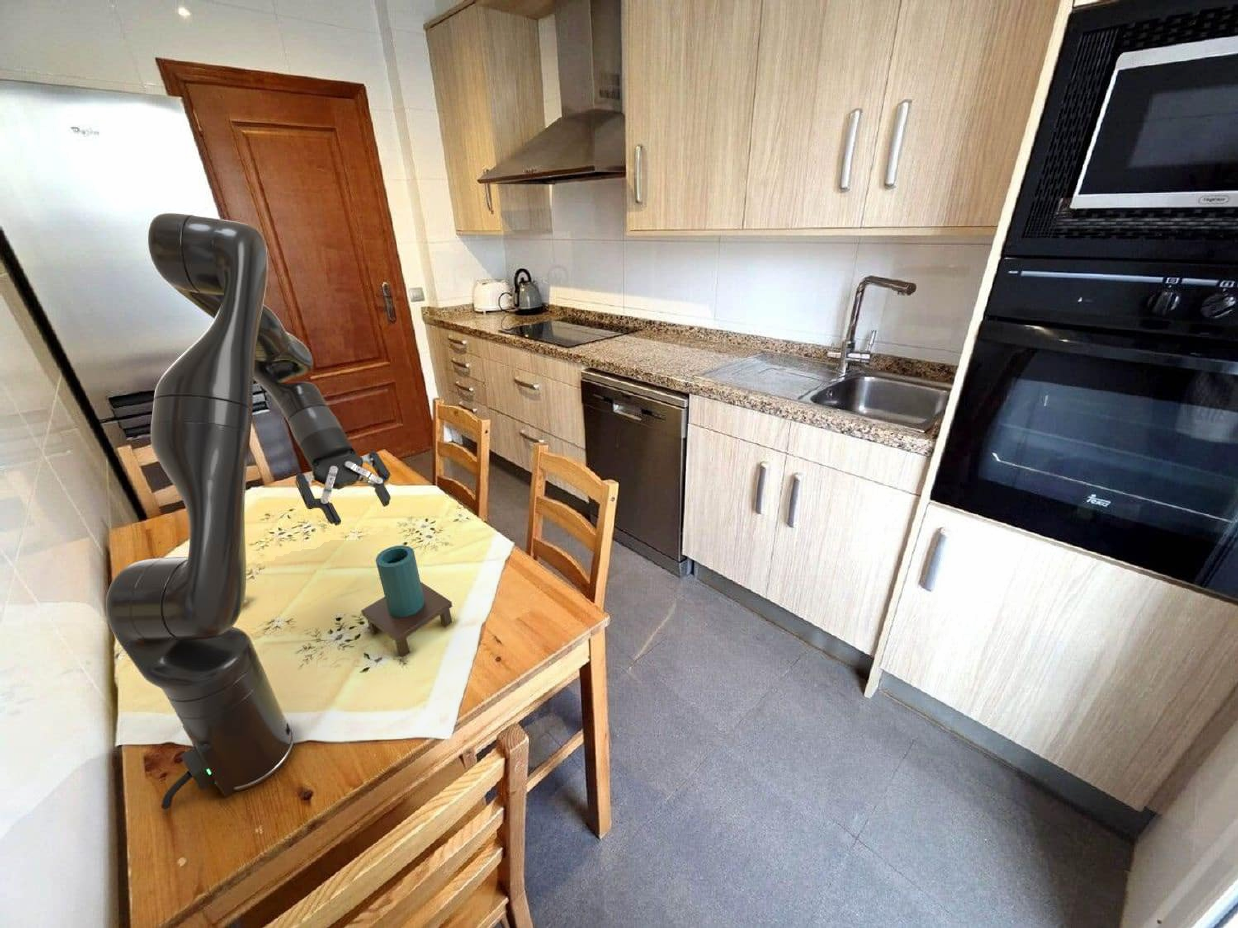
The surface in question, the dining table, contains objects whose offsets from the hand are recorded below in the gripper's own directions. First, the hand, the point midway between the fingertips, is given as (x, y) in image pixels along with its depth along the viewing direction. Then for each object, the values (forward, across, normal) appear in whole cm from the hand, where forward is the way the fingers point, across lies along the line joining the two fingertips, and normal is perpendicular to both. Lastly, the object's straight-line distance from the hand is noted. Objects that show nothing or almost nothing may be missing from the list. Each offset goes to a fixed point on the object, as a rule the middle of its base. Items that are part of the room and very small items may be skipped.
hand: (363, 513), depth 89 cm
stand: (+21, 0, +7) cm, 23 cm away
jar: (+18, 0, +4) cm, 18 cm away
